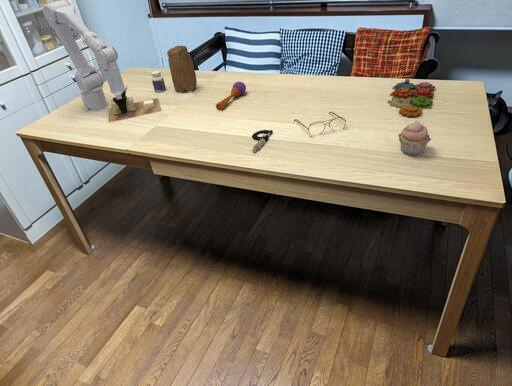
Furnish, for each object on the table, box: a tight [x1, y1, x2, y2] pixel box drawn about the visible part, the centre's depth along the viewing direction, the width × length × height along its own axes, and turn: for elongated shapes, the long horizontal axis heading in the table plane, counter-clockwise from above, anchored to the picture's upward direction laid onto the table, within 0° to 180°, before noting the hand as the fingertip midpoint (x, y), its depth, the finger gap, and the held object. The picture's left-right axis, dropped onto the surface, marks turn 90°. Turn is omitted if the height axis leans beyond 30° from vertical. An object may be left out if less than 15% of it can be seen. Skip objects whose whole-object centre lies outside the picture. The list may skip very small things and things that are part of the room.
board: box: [108, 97, 162, 123], centre depth 161 cm, size 22×16×1 cm
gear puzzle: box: [386, 78, 436, 118], centre depth 142 cm, size 31×16×4 cm, turn 156°
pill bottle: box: [151, 70, 167, 93], centre depth 174 cm, size 5×5×10 cm
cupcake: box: [397, 120, 432, 156], centre depth 112 cm, size 9×9×10 cm
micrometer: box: [251, 129, 274, 154], centre depth 129 cm, size 15×7×2 cm, turn 154°
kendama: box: [215, 81, 247, 111], centre depth 159 cm, size 6×6×20 cm
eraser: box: [143, 98, 155, 109], centre depth 161 cm, size 4×4×2 cm
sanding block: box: [110, 96, 136, 116], centre depth 158 cm, size 9×4×5 cm, turn 108°
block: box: [166, 45, 198, 94], centre depth 169 cm, size 11×8×20 cm
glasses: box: [293, 111, 347, 137], centre depth 134 cm, size 14×15×5 cm
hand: (124, 109), depth 159 cm, fingers open, 7 cm apart
